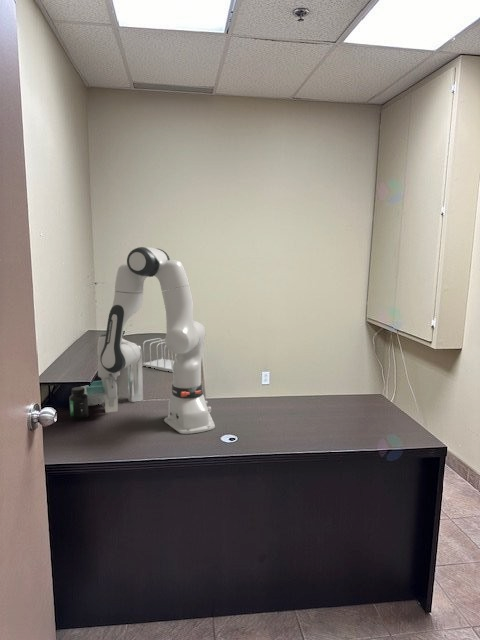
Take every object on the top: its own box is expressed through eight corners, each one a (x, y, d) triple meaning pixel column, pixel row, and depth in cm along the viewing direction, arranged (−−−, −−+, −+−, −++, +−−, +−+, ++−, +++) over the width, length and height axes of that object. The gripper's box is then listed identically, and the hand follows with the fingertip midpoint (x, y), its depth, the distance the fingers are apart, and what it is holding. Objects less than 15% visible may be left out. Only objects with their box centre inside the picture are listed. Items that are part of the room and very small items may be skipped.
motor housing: (120, 401, 186) (119, 385, 185) (82, 406, 180) (81, 389, 179) (115, 392, 199) (115, 377, 198) (80, 397, 193) (79, 381, 192)
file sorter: (192, 366, 250) (192, 341, 248) (172, 373, 235) (172, 346, 233) (162, 361, 263) (161, 337, 261) (141, 366, 249) (140, 341, 247)
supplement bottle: (70, 421, 163) (69, 392, 162) (69, 415, 170) (68, 387, 168) (89, 418, 166) (87, 389, 165) (87, 413, 173) (86, 385, 171)
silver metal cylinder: (139, 402, 185) (137, 347, 182) (126, 401, 187) (124, 347, 183) (145, 398, 192) (144, 345, 188) (132, 397, 193) (130, 344, 190)
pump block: (118, 411, 175) (117, 397, 174) (102, 413, 173) (102, 399, 172) (116, 407, 180) (115, 394, 179) (101, 409, 177) (100, 395, 176)
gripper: (120, 377, 166) (121, 410, 168) (113, 364, 184) (114, 394, 186) (104, 378, 163) (105, 412, 165) (98, 366, 182) (99, 396, 184)
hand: (109, 402), depth 176 cm, fingers open, 8 cm apart
